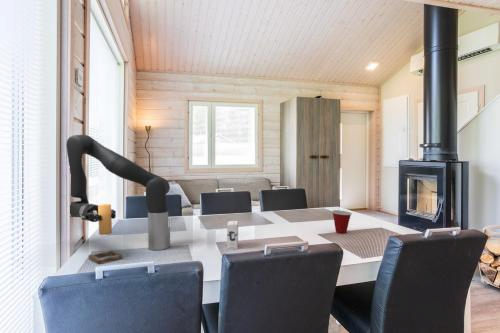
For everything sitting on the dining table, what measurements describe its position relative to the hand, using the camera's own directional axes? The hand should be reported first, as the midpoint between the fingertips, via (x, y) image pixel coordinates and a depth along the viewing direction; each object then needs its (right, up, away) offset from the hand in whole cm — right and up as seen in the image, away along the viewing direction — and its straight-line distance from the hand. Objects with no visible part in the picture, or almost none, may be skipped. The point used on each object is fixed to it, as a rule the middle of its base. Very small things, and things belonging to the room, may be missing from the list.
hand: (107, 217), depth 134 cm
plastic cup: (+112, -17, +48) cm, 123 cm away
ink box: (+51, -18, +20) cm, 58 cm away
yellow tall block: (-2, -7, +2) cm, 8 cm away
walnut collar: (-2, -18, +2) cm, 18 cm away
